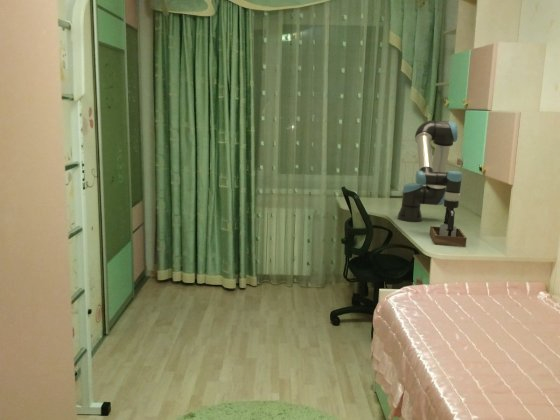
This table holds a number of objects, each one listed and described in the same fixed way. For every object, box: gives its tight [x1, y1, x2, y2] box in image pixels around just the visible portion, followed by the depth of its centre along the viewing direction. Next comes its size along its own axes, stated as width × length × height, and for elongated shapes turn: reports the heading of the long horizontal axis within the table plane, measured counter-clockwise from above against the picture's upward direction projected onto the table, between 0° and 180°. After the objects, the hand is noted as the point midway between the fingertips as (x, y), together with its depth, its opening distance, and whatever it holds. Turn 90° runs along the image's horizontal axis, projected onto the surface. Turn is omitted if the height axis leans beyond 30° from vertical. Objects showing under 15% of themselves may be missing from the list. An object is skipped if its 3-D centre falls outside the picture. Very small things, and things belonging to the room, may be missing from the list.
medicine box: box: [439, 223, 457, 237], centre depth 291 cm, size 8×4×9 cm, turn 35°
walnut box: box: [429, 226, 468, 248], centre depth 292 cm, size 22×16×5 cm
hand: (446, 239), depth 292 cm, fingers open, 10 cm apart
